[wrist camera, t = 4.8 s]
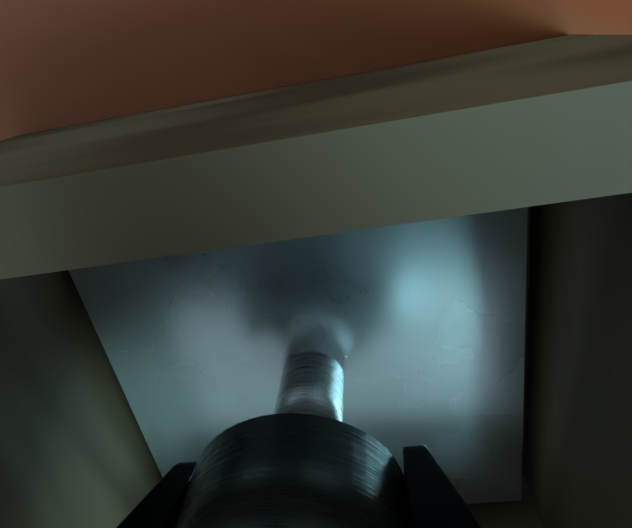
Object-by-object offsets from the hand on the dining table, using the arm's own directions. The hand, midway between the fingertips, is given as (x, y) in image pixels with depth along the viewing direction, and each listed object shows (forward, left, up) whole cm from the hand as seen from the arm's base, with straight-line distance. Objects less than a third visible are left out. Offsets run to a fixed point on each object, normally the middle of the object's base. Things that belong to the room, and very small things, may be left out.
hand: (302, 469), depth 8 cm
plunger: (0, 0, -3) cm, 3 cm away
